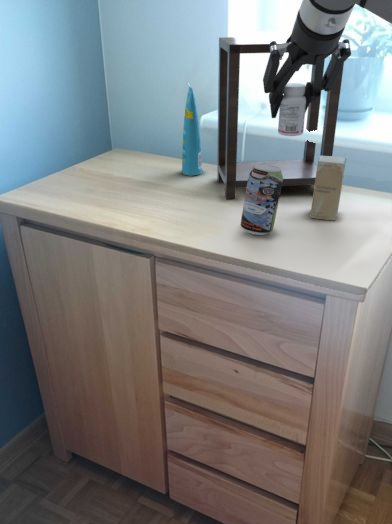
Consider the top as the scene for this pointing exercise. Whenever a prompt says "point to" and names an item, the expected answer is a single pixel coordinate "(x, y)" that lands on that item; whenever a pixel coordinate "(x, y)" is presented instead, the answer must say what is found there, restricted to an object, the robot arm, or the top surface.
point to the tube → (191, 138)
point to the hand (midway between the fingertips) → (286, 111)
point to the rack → (228, 99)
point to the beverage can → (261, 199)
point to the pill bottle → (292, 110)
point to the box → (328, 187)
